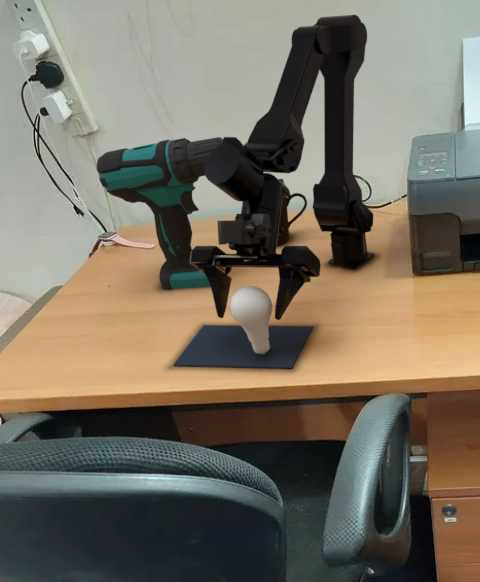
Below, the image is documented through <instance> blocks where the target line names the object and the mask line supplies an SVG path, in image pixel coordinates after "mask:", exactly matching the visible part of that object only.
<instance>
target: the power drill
mask: <svg viewBox="0 0 480 582" xmlns="http://www.w3.org/2000/svg"><path fill="white" fill-rule="evenodd" d="M222 142H223V137H221V136H217V137H211V138H206V139H199V140H194V141H191V140H189V139H187V138H186V137H183V138H177V139H172V140H170V139H165V140H161V141H158V142H155V143H150V144H149V143H148V144H145V145H140V146H135V147H132V148H127V147H125V148H120V149H116V150H110V151H106V152H105V153H103V154H102V155H101V156H99V157H98V159H97V161H96V172H97V173H98V176H99V182H100V184H101V186H102V187H103V188H104V189H105V190H106V192H107V193H108V194H109V195H111V196H114V197H116V198H118V199H121V200H123V201H125V202H127V203H131V204H136V203H143V204H146V205H147V206H148V207H149V209H150V210H151V213H152V214H153V218H154V225H155V232H156V238H157V241H158V246H159V247H160V249H161V251H162V253H163V256H164V259H165V261H164V262H163V263H162V265H161V267H160V270H159V274H158V275H159V276H158V277H159V278H158V280H159V282H160V285H161V289H163V290H169V291H170V290H173V289H175V290H176V289H191V288H205V287H206V288H207V287H211V286H210V283H209V281H208V278H207V277H206V275H205V274H203V273H202V272H200V271H199V270H198V268H196V267H195V266H193V265H192V264H190V263H189V262H190V254H191V251H192V249H193V248H192V246H191V244H192V239H193V230H192V225H191V221H190V219H189V215H192V214H193V213H194V212H198V211H199V208H198V206H197V205H196V203H195V202H194V200H193V191H195V189H196V186H194V183H196V182H198V180H199V179H200V177H206V176H205V172H204V166H205V161H206V159H207V158H208V157H209V155H210V154H211V152H212V151H213V150H214V149H215V148H216V147H218V146H220V145H222Z"/></svg>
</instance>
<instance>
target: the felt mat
mask: <svg viewBox="0 0 480 582" xmlns="http://www.w3.org/2000/svg"><path fill="white" fill-rule="evenodd" d="M313 330H314V326H313V325H268V332H269V338H268V340H269V345H270V349H269V351H267V352H266V353H265V354H257V353H255V352H254V350H253V347H252V344H251V342H250V341H249V339H248V336H247V334H246V332H245V330H244V329H243V328H242V327H241V326H240V325H237V324H236V325H232V324H231V325H230V324H227V325H223V324H218V325H217V324H215V325H214V324H206V325H205V324H204V325H202V327H201V328H199V330H198V331H197V333H196V334H195V336H193V339H191V341H190V342H189V343H188V345H186V347H185V349H184V350H183V351H182V353H181V354H179V356H178V358H177V359H176V360H175V362H174V363H173V367H192V368H228V369H229V368H232V369H268V370H269V369H272V370H273V369H274V370H275V369H276V370H293V368H294V366H295V364H296V362H297V361H298V359H299V357H300V355H301V353H302V351H303V349H304V347H305V345H306V343H307V342H308V339H309V338H310V336H311V333H312V331H313Z"/></svg>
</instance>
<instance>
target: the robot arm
mask: <svg viewBox="0 0 480 582" xmlns="http://www.w3.org/2000/svg"><path fill="white" fill-rule="evenodd" d="M367 42H368V31H367V26H366V25H365V23H364V22H362V20H361V18H360V17H359V16H358V15H357V14H347V15H332V16H320V17H319V18H318V19H317V20H316V22H315V23H314V24H313V25H307V26H304V25H303V26H298V27H297V28H295V29H294V30H293V31H292V33H291V47H290V51H289V53H288V57H287V59H286V62H285V64H284V68H283V71H282V73H281V77H280V79H279V82H278V86H277V88H276V90H275V94H274V97H273V100H272V102H271V106H270V107H269V109H268V111H267V112H266V113H265V114H264V115H262V117H261V118H259V119H258V120H257V121H256V123H255V125H254V127H253V129H252V131H251V132H250V135H249V137H248V138H247V142H245V143H244V144H243V143H242V141H240V139H238V138H237V136H224V137H222V139H223V142H222V145H220V146H218V147H216V148H215V149H214V150H213V151H212V152H211V154H210V155H209V157H208V158H207V159H206V161H205V166H204V172H205V176H204V177H205V178H206V179H207V180H208V182H209V183H211V184H213V185H214V186H215V187H217V188H218V189H219V190H221V191H222V192H223V193H224V194H226V195H227V196H229V197H230V198H232V199H233V200H235V201H237V202H242V203H241V211H240V213H236V215H235V217H234V220H217V241H218V245H220V246H221V245H227V244H228V248H229V249H230V250H231V251H235V252H236V253H226V252H225V251H224V250H222V249H221V248H220V247H218V246H217V245H195V246H194V247H193V248H192V251H191V254H190V262H189V263H190V264H192V265H193V266H195V267H196V268H198V270H199V271H200V272H202V273H203V274H205V275H206V277H207V278H208V281H209V283H210V286H209V287H210V290H211V294H212V297H213V302H214V307H215V310H216V315H217V318H220V319H224V316H225V313H226V310H227V306H228V300H229V295H230V289H231V285H232V279H233V278H232V277H231V276H229V274H230V273H231V272H232V268H257V269H258V268H260V269H261V268H262V269H263V268H265V269H267V268H268V269H272V268H273V269H278V277H279V280H278V281H279V283H278V288H277V294H276V301H275V306H274V307H275V308H274V319H275V320H277V321H280V320H281V319H282V317H284V314H285V313H286V311H287V310H288V308H289V306H290V304H291V303H292V301H293V300H294V297H295V296H296V295H297V294H298V292H299V291H300V290H301V288H302V287H303V286H304V284H305V283H310V282H311V280H312V278H318V277H320V274H321V266H322V265H321V259H320V258H319V257H318V256H317V255H316V254H315V253H314V252H313V250H311V249H310V247H308V246H307V245H284V246H283V248H282V249H281V252H280V253H277V247H278V246H277V240H278V236H282V228H281V227H280V226H279V222H280V214H281V205H282V198H283V197H286V198H287V197H290V195H291V191H290V189H289V188H288V186H287V185H286V184H285V181H284V178H277V177H276V176H275V175H274V174H272V173H275V174H276V173H277V174H291V173H294V172H296V171H297V169H298V168H299V167H300V164H301V161H302V156H303V151H304V146H305V137H304V133H303V130H302V125H303V122H304V117H305V114H306V112H307V109H308V106H309V103H310V100H311V97H312V94H313V91H314V87H315V85H316V82H317V79H318V75H319V73H320V74H321V75H322V77H323V97H324V98H323V99H324V100H323V104H324V105H323V107H324V110H323V111H324V112H323V113H324V115H323V116H324V117H323V118H324V119H323V120H324V121H323V122H324V123H323V125H324V126H323V128H324V130H323V131H324V136H323V137H324V139H323V140H324V141H323V143H324V144H323V145H324V146H323V147H324V149H323V150H324V151H323V152H324V172H323V175H322V177H321V179H320V181H319V183H314V184H313V187H312V194H313V195H312V196H313V202H312V209H313V214H314V217H315V220H316V222H317V224H318V226H319V229H320V231H321V232H322V233H324V232H327V233H329V234H330V248H331V254H332V258H331V259H329V260H328V261H327V264H328V265H331V266H336V267H340V268H344V269H349V270H357V269H358V268H359V267H362V265H364V264H365V263H367V262H368V261H369V260H371V259H372V258H374V257H375V253H374V252H370V251H368V245H367V238H366V237H367V236H366V233H370V232H371V231H372V227H373V225H374V212H372V211H371V210H370V209H369V207H368V206H366V205H365V204H364V203H363V190H362V188H361V186H360V184H359V182H358V180H357V178H356V176H355V174H354V126H355V125H354V122H355V121H354V118H355V116H354V113H355V111H354V110H355V79H356V77H357V76H358V73H359V71H360V70H361V68H362V66H363V64H364V62H365V55H366V45H367Z"/></svg>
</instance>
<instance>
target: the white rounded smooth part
mask: <svg viewBox="0 0 480 582" xmlns="http://www.w3.org/2000/svg"><path fill="white" fill-rule="evenodd" d="M229 308H230V312H231V313H230V314H231V316H232V318H233V319H234V321H235V322H236V323H237V324H238V326H241V327H242V328H243V329H244V330H245V332H246V334H247V336H248V339H249V341H250V342H251V344H252V347H253V350H254V352H255V353H257V354H265V353H266V352H267V351H269V349H270V345H269V340H268V338H269V332H268V326H270V325H269V324H270V320H271V317H272V315H273V302H272V298H271V297H270V295H269V294H268V293H267V292H266V291H265V290H263V289H262V288H260V287H258V286H255V285H247V286H244V287H241V288H239V289H238V290H237V291H236V292H234V294H233V296H232V297H231V300H230V306H229Z"/></svg>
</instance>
